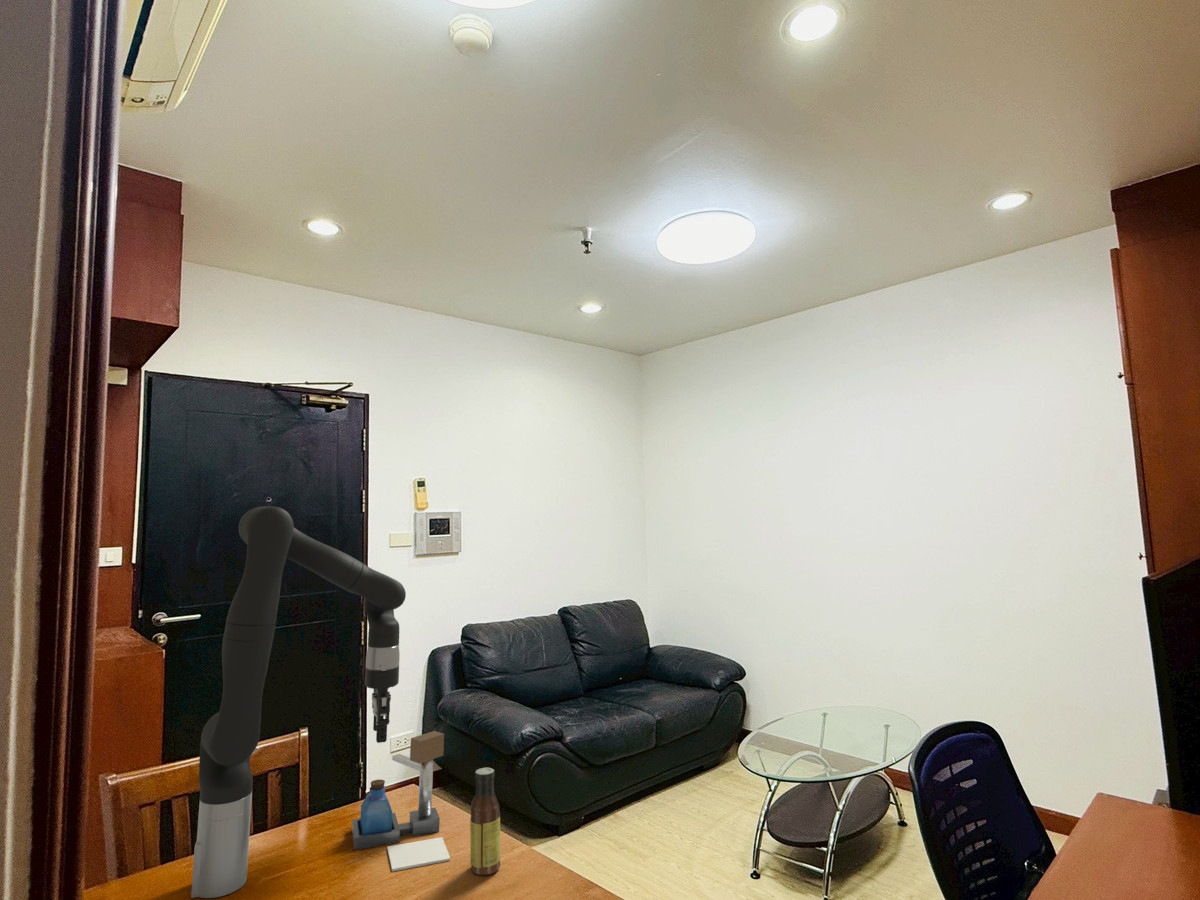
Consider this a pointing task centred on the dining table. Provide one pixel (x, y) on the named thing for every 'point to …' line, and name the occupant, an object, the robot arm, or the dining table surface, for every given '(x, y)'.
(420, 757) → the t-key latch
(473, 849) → the sauce bottle
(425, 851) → the pad
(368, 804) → the perfume bottle
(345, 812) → the dining table surface
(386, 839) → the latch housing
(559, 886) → the dining table surface
